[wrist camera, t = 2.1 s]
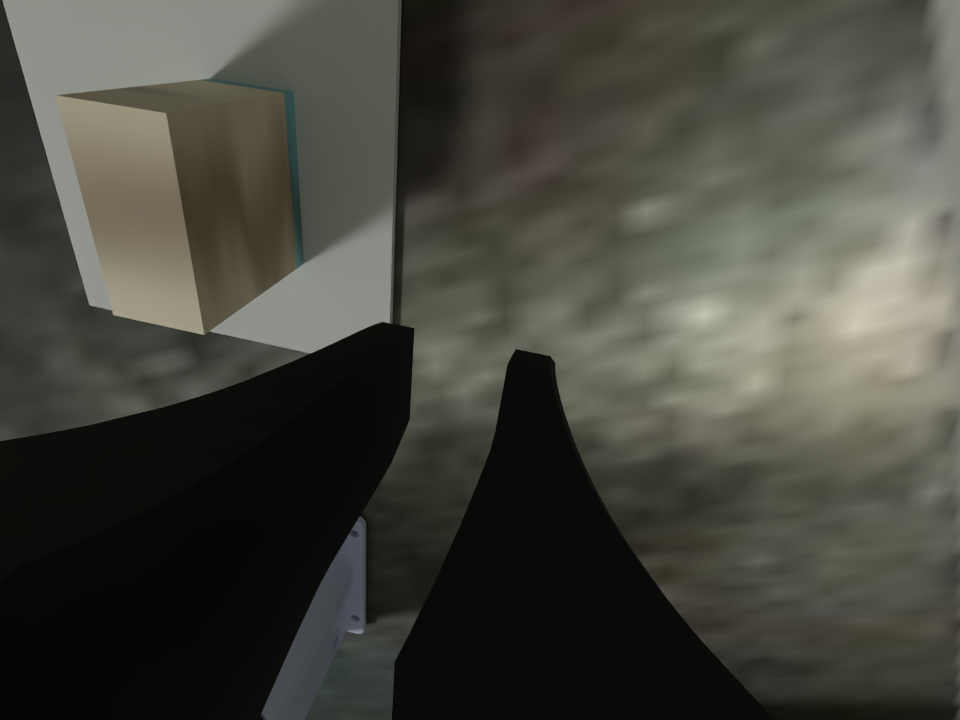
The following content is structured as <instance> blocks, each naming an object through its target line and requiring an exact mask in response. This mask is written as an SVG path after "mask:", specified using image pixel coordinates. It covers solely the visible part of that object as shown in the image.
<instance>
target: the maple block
mask: <svg viewBox="0 0 960 720" xmlns="http://www.w3.org/2000/svg"><path fill="white" fill-rule="evenodd" d="M56 99H57V103H58V107H59V110H60V114H61V118H62V122H63V126H64V129H65V133H66V137H67V141H68V145H69V148H70V152H71V156H72V160H73V164H74V167H75V171H76V175H77V179H78V182H79V186H80V190H81V194H82V198H83V201H84V205H85V209H86V213H87V217H88V220H89V224H90V228H91V232H92V236H93V239H94V243H95V247H96V251H97V255H98V258H99V262H100V266H101V270H102V273H103V277H104V281H105V285H106V289H107V292H108V296H109V300H110V304H111V308H112V311H113V315H116V316H120V317H125V318H129V319H134V320H139V321H143V322H148V323H152V324H157V325H161V326H166V327H171V328H175V329H180V330H184V331H189V332H193V333H198V334H203V335H205V334H206V333H208V332H209V331H210V330H212V329H213V328H215V327H216V326H217V325H219V324H220V323H222V322H223V321H224V320H226V319H227V318H229V317H230V316H231V315H233V314H234V313H236V312H237V311H238V310H240V309H241V308H243V307H244V306H245V305H247V304H248V303H250V302H251V301H252V300H254V299H255V298H257V297H258V296H259V295H261V294H262V293H264V292H265V291H266V290H268V289H269V288H271V287H272V286H273V285H275V284H276V283H278V282H279V281H280V280H282V279H283V278H285V277H286V276H287V275H289V274H290V273H292V272H293V271H294V270H296V269H297V268H299V267H300V266H301V265H303V264H304V255H303V239H302V222H301V206H300V190H299V173H298V157H297V141H296V124H295V108H294V92H293V91H289V90H282V89H276V88H269V87H262V86H256V85H249V84H242V83H236V82H229V81H222V80H216V79H202V80H193V81H183V82H174V83H165V84H155V85H146V86H137V87H128V88H118V89H109V90H100V91H90V92H81V93H72V94H62V95H56Z"/></svg>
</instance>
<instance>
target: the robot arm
mask: <svg viewBox="0 0 960 720" xmlns="http://www.w3.org/2000/svg"><path fill="white" fill-rule="evenodd" d="M413 343H414V328H410V327H405V326H401V325H396V324H391V323H386V322H380V323H377V324H374V325H372V326H370V327H367V328H365V329H363V330H360V331H358V332H356V333H354V334H352V335H350V336H348V337H345V338H343V339H341V340H339V341H337V342H335V343H333V344H330V345H328V346H326V347H324V348H322V349H319V350H317V351H315V352H313V353H311V354H309V355H306V356H304V357H302V358H300V359H298V360H295V361H293V362H290V363H288V364H286V365H283V366H281V367H278V368H276V369H273V370H271V371H268V372H266V373H263V374H261V375H258V376H256V377H254V378H251V379H249V380H246V381H244V382H241V383H238V384H236V385H233V386H230V387H227V388H224V389H221V390H218V391H215V392H213V393H209V394H206V395H203V396H200V397H197V398H193V399H190V400H187V401H184V402H180V403H177V404H174V405H170V406H166V407H163V408H159V409H155V410H151V411H147V412H142V413H138V414H134V415H130V416H126V417H122V418H118V419H113V420H109V421H105V422H101V423H97V424H93V425H88V426H83V427H78V428H73V429H68V430H63V431H57V432H52V433H47V434H42V435H36V436H30V437H24V438H18V439H11V440H5V441H0V720H305V718H306V716H307V714H308V711H309V709H310V707H311V705H312V703H313V701H314V699H315V697H316V694H317V692H318V690H319V688H320V686H321V684H322V682H323V679H324V677H325V675H326V673H327V671H328V669H329V667H330V664H331V662H332V660H333V658H334V656H335V654H336V652H337V650H338V647H339V645H340V643H341V641H342V639H343V637H344V635H345V632H346V631H348V632H352V633H355V634H361V633H363V632H364V630H365V628H366V522H365V520H364V519H363V518H362V517H361V516H360V515H361V513H362V512H363V510H364V508H365V507H366V505H367V503H368V502H369V500H370V498H371V497H372V495H373V493H374V492H375V490H376V488H377V486H378V485H379V483H380V481H381V480H382V478H383V476H384V475H385V473H386V471H387V469H388V468H389V466H390V464H391V462H392V460H393V458H394V455H395V453H396V451H397V448H398V446H399V444H400V441H401V439H402V437H403V434H404V432H405V429H406V427H407V424H408V422H409V420H410V401H411V382H412V363H413ZM392 720H774V719H773V718H772V717H771V715H770V714H769V713H768V712H767V711H766V710H765V709H764V708H763V707H762V706H761V705H760V704H759V703H758V701H757V700H756V699H755V698H754V697H753V696H752V695H751V694H750V693H749V692H748V691H747V690H746V689H745V687H744V686H743V685H742V684H741V683H740V682H739V681H738V680H737V679H736V678H735V677H734V676H733V674H732V673H731V672H730V671H729V670H728V669H727V668H726V667H725V666H724V665H723V664H722V663H721V662H720V660H719V659H718V658H717V657H716V656H715V655H714V654H713V653H712V652H711V651H710V650H709V649H708V647H707V646H706V645H705V644H704V643H703V642H702V641H701V640H700V639H699V637H698V636H697V635H696V634H695V633H694V632H693V630H692V629H691V628H690V627H689V625H688V624H687V623H686V622H685V621H684V619H683V618H682V617H681V616H680V614H679V613H678V612H677V611H676V609H675V608H674V607H673V606H672V605H671V603H670V602H669V601H668V600H667V598H666V597H665V595H664V594H663V593H662V591H661V590H660V588H659V587H658V586H657V584H656V583H655V581H654V580H653V579H652V577H651V576H650V574H649V573H648V572H647V570H646V569H645V567H644V566H643V565H642V563H641V562H640V560H639V559H638V558H637V556H636V555H635V553H634V552H633V551H632V549H631V548H630V546H629V545H628V543H627V542H626V540H625V539H624V537H623V535H622V534H621V532H620V530H619V529H618V527H617V526H616V524H615V522H614V521H613V519H612V517H611V516H610V514H609V512H608V510H607V509H606V507H605V505H604V503H603V501H602V500H601V498H600V496H599V494H598V492H597V490H596V488H595V486H594V484H593V482H592V480H591V478H590V476H589V474H588V472H587V470H586V468H585V466H584V463H583V461H582V459H581V456H580V454H579V452H578V449H577V447H576V444H575V442H574V439H573V437H572V434H571V431H570V428H569V425H568V422H567V419H566V416H565V413H564V410H563V407H562V403H561V400H560V395H559V391H558V387H557V381H556V374H555V362H554V361H553V359H552V358H551V356H546V355H542V354H537V353H532V352H527V351H522V350H517V349H516V350H515V352H514V354H513V355H512V357H511V359H510V361H509V363H508V366H507V371H506V377H505V382H504V388H503V393H502V399H501V404H500V410H499V415H498V421H497V426H496V432H495V435H494V439H493V443H492V447H491V450H490V453H489V455H488V458H487V460H486V463H485V466H484V468H483V471H482V473H481V476H480V479H479V481H478V484H477V486H476V489H475V491H474V494H473V496H472V498H471V501H470V503H469V506H468V508H467V511H466V513H465V515H464V518H463V520H462V523H461V525H460V527H459V530H458V532H457V534H456V536H455V538H454V541H453V543H452V545H451V547H450V550H449V552H448V554H447V556H446V559H445V561H444V563H443V565H442V568H441V570H440V572H439V574H438V576H437V578H436V580H435V583H434V585H433V587H432V589H431V591H430V593H429V595H428V597H427V599H426V601H425V603H424V605H423V607H422V609H421V611H420V613H419V615H418V617H417V619H416V621H415V623H414V625H413V627H412V630H411V632H410V634H409V636H408V638H407V639H406V641H405V643H404V645H403V647H402V649H401V651H400V653H399V655H398V657H397V659H396V661H395V669H394V690H393V710H392Z"/></svg>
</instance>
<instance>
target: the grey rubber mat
mask: <svg viewBox="0 0 960 720" xmlns="http://www.w3.org/2000/svg"><path fill="white" fill-rule="evenodd" d="M3 4H4V7H5V11H6V14H7V18H8V21H9V25H10V28H11V32H12V35H13V39H14V42H15V46H16V49H17V53H18V56H19V60H20V63H21V67H22V70H23V74H24V77H25V81H26V84H27V88H28V91H29V95H30V98H31V102H32V105H33V109H34V112H35V116H36V119H37V123H38V126H39V130H40V133H41V137H42V140H43V144H44V147H45V151H46V154H47V158H48V161H49V165H50V168H51V172H52V175H53V179H54V182H55V186H56V189H57V193H58V196H59V200H60V203H61V207H62V210H63V214H64V217H65V221H66V224H67V228H68V231H69V235H70V238H71V242H72V245H73V249H74V252H75V256H76V259H77V263H78V266H79V270H80V273H81V277H82V280H83V284H84V287H85V291H86V294H87V298H88V301H89V305H91V306H95V307H100V308H104V309H109V310H112V308H111V304H110V300H109V296H108V292H107V289H106V285H105V281H104V277H103V273H102V270H101V266H100V262H99V258H98V255H97V251H96V247H95V243H94V239H93V236H92V232H91V228H90V224H89V220H88V217H87V213H86V209H85V205H84V201H83V198H82V194H81V190H80V186H79V182H78V179H77V175H76V171H75V167H74V164H73V160H72V156H71V152H70V148H69V145H68V141H67V137H66V133H65V129H64V126H63V122H62V118H61V114H60V110H59V107H58V103H57V99H56V95H62V94H72V93H81V92H90V91H100V90H109V89H118V88H128V87H137V86H146V85H155V84H165V83H174V82H183V81H193V80H202V79H216V80H222V81H229V82H236V83H242V84H249V85H256V86H262V87H269V88H276V89H282V90H289V91H293V92H294V108H295V124H296V141H297V157H298V173H299V190H300V206H301V222H302V239H303V255H304V264H303V265H301V266H300V267H299V268H297V269H296V270H294V271H293V272H292V273H290V274H289V275H287V276H286V277H285V278H283V279H282V280H280V281H279V282H278V283H276V284H275V285H273V286H272V287H271V288H269V289H268V290H266V291H265V292H264V293H262V294H261V295H259V296H258V297H257V298H255V299H254V300H252V301H251V302H250V303H248V304H247V305H245V306H244V307H243V308H241V309H240V310H238V311H237V312H236V313H234V314H233V315H231V316H230V317H229V318H227V319H226V320H224V321H223V322H222V323H220V324H219V325H217V326H216V327H215V328H213V329H212V330H210V332H215V333H219V334H224V335H228V336H233V337H238V338H242V339H247V340H251V341H256V342H261V343H265V344H270V345H274V346H279V347H284V348H288V349H293V350H297V351H302V352H307V353H313V352H315V351H317V350H319V349H322V348H324V347H326V346H328V345H330V344H333V343H335V342H337V341H339V340H341V339H343V338H345V337H348V336H350V335H352V334H354V333H356V332H358V331H360V330H363V329H365V328H367V327H370V326H372V325H374V324H377V323H380V322H386V323H391V324H393V289H394V254H395V219H396V183H397V148H398V113H399V77H400V42H401V7H402V0H3Z"/></svg>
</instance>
